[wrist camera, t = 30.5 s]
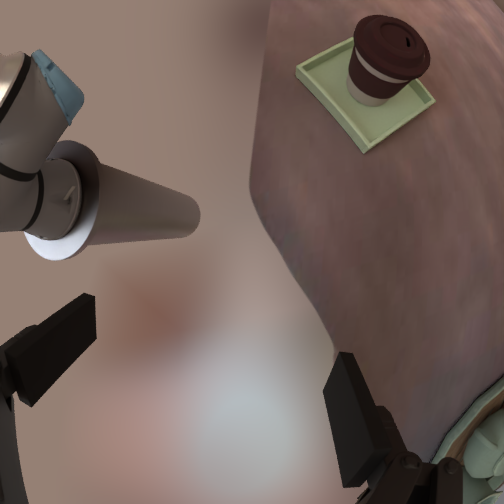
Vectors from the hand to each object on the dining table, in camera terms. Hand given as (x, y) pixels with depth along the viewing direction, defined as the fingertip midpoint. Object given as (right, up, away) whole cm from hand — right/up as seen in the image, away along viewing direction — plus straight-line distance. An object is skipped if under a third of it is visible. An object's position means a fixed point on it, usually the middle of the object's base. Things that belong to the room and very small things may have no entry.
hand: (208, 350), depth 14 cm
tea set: (+61, -39, +25) cm, 77 cm away
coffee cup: (+20, +31, +24) cm, 44 cm away
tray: (+20, +31, +24) cm, 44 cm away
